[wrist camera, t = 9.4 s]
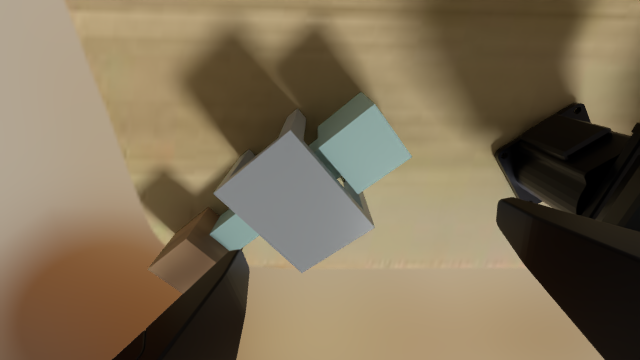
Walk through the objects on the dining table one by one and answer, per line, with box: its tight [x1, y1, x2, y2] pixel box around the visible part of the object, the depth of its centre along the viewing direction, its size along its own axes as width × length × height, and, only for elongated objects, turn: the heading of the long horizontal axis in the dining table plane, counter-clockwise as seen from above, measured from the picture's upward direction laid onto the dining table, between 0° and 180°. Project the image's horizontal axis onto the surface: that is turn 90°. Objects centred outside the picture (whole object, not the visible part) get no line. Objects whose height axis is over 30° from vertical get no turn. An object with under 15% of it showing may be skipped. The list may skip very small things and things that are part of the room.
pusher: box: [209, 92, 412, 251], centre depth 20 cm, size 4×16×5 cm, turn 129°
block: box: [148, 207, 243, 294], centre depth 22 cm, size 4×4×4 cm
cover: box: [213, 108, 375, 273], centre depth 19 cm, size 8×6×6 cm
